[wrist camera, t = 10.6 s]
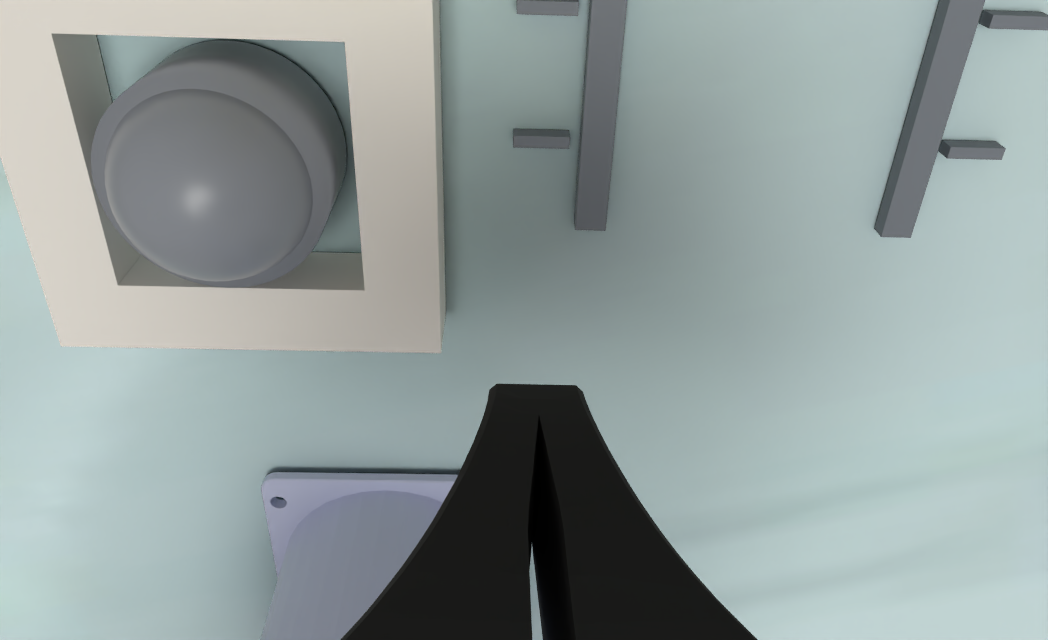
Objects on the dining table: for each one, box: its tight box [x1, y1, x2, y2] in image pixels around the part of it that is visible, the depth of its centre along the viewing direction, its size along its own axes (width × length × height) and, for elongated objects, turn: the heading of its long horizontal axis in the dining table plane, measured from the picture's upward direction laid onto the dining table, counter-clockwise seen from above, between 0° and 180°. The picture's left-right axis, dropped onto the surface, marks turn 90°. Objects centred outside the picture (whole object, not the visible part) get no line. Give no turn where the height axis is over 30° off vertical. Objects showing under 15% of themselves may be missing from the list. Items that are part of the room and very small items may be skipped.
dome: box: [91, 40, 347, 288], centre depth 19 cm, size 5×5×5 cm
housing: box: [0, 0, 446, 353], centre depth 20 cm, size 10×10×2 cm
